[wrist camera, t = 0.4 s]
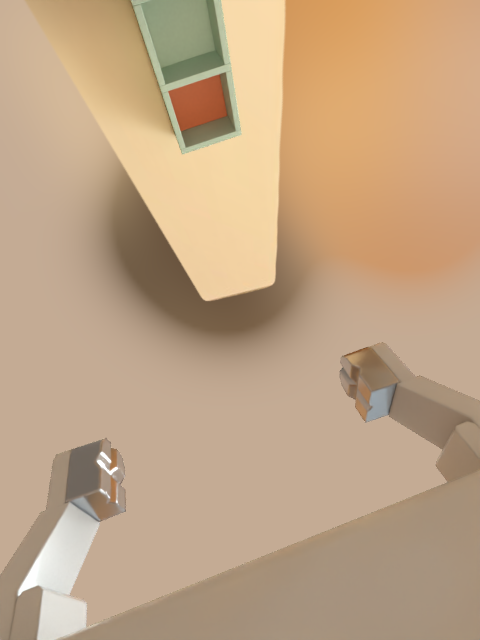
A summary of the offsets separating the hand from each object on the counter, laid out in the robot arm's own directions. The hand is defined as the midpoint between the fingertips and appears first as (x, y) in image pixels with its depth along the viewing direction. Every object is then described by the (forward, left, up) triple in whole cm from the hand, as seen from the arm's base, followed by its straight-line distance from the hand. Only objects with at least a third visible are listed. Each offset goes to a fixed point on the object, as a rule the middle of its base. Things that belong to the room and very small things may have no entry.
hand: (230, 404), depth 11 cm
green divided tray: (+1, +11, -48) cm, 50 cm away
